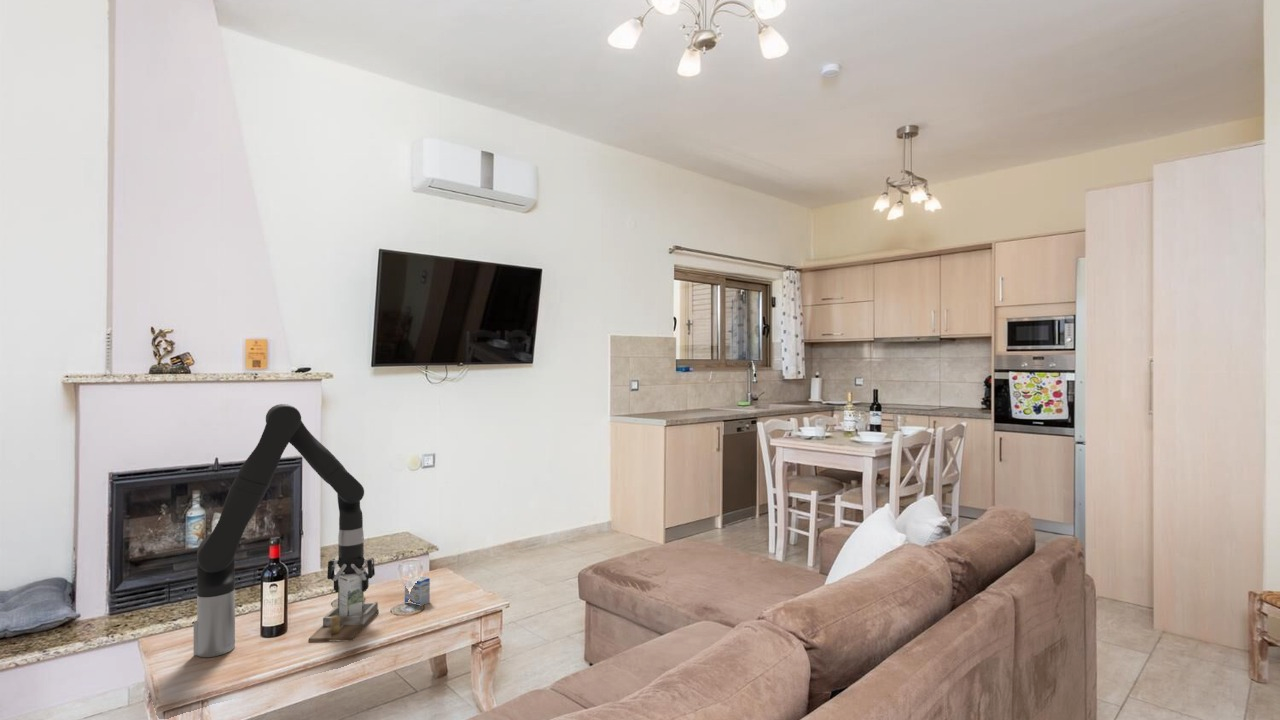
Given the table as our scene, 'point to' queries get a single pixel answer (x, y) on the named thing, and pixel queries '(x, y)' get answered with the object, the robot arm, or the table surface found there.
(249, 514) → the robot arm
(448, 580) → the table surface
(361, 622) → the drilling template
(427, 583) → the medicine box
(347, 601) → the syrup box
